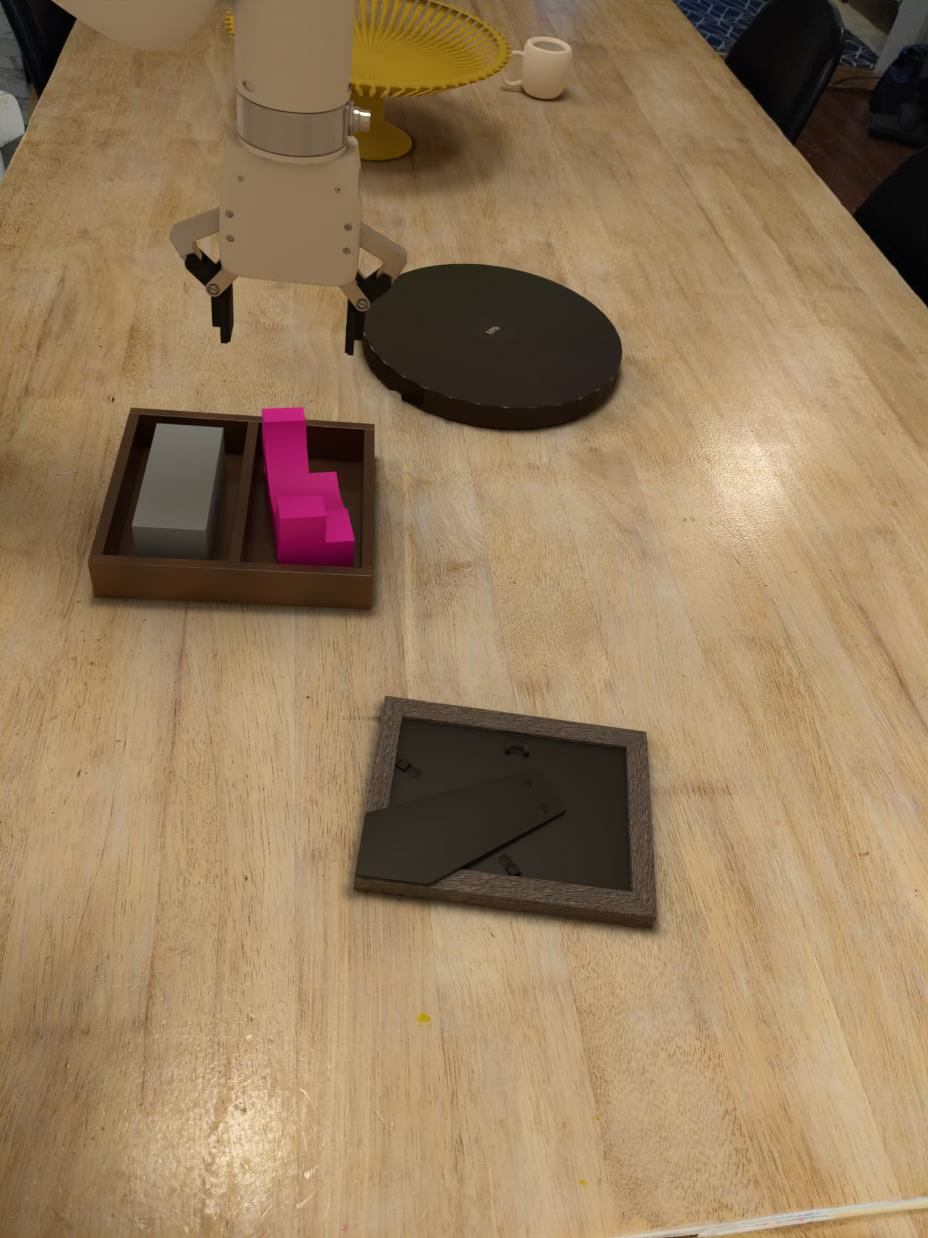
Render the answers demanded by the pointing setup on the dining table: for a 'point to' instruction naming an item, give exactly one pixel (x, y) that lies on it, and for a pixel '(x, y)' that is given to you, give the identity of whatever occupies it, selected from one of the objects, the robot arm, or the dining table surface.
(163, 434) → the gray rectangular block
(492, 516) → the dining table surface
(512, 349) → the disc
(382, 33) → the yellow pedestal bowl
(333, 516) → the toy block
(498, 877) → the picture frame
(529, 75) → the mug
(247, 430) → the divided tray
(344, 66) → the robot arm
